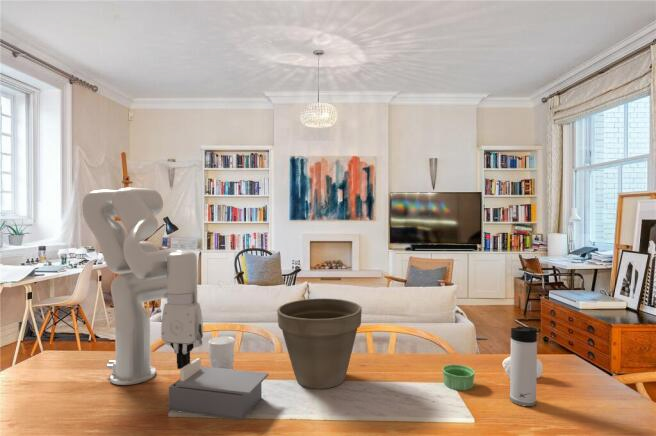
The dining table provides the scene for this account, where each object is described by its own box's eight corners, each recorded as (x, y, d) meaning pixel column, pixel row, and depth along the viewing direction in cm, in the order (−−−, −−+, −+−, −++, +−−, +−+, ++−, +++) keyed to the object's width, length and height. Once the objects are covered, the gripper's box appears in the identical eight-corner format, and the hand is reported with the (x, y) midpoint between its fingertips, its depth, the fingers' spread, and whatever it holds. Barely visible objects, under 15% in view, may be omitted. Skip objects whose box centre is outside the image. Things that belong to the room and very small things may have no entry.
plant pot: (281, 402, 109) (281, 320, 109) (274, 366, 133) (274, 299, 133) (372, 393, 114) (372, 315, 114) (349, 361, 138) (349, 296, 138)
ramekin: (439, 388, 118) (439, 373, 118) (445, 376, 126) (445, 362, 126) (472, 394, 114) (473, 378, 114) (476, 382, 122) (476, 367, 122)
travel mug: (526, 409, 105) (527, 331, 105) (504, 399, 111) (505, 325, 110) (542, 404, 108) (543, 328, 107) (520, 394, 114) (521, 322, 113)
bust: (540, 383, 126) (529, 346, 133) (551, 376, 120) (539, 338, 127) (501, 383, 126) (492, 346, 133) (510, 376, 120) (500, 338, 127)
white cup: (228, 378, 125) (227, 345, 124) (203, 375, 126) (203, 343, 126) (238, 368, 132) (238, 336, 132) (216, 366, 134) (215, 335, 134)
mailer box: (168, 410, 105) (168, 386, 105) (195, 389, 116) (194, 368, 116) (241, 419, 100) (241, 395, 100) (261, 397, 112) (261, 375, 111)
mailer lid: (175, 386, 104) (175, 372, 104) (201, 368, 116) (201, 355, 116) (249, 395, 99) (249, 380, 99) (268, 375, 111) (268, 362, 111)
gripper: (148, 300, 108) (149, 370, 108) (200, 302, 104) (201, 375, 105) (166, 294, 115) (167, 360, 116) (215, 296, 112) (216, 364, 112)
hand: (183, 367), depth 110 cm, fingers closed
